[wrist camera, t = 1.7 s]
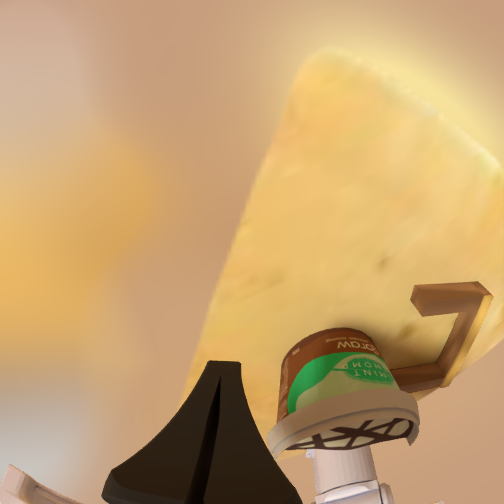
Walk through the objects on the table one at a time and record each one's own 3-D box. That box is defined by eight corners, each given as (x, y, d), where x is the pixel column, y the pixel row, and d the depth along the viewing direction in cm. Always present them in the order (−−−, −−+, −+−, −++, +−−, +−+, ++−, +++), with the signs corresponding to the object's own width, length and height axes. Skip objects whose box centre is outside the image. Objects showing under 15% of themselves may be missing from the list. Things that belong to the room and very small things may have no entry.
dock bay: (439, 369, 26) (448, 386, 24) (380, 380, 27) (387, 399, 24) (478, 281, 21) (493, 296, 19) (414, 285, 22) (429, 303, 19)
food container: (407, 317, 23) (454, 399, 14) (384, 365, 26) (415, 444, 17) (274, 313, 23) (280, 418, 14) (265, 365, 25) (266, 460, 16)
